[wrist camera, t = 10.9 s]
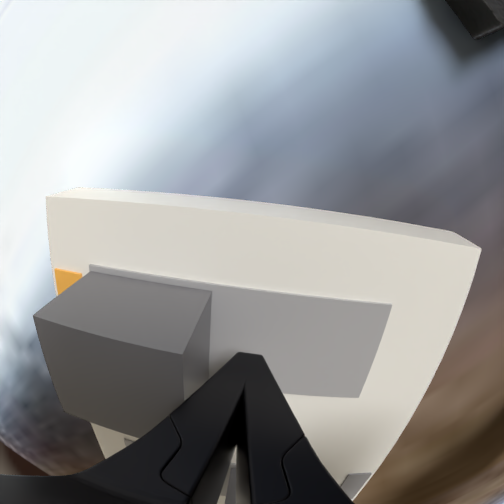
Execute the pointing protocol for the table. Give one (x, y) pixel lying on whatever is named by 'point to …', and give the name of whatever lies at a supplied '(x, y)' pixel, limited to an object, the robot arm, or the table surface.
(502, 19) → the disk drive
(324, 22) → the table surface
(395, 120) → the table surface
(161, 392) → the tab
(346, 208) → the table surface
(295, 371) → the switch panel
